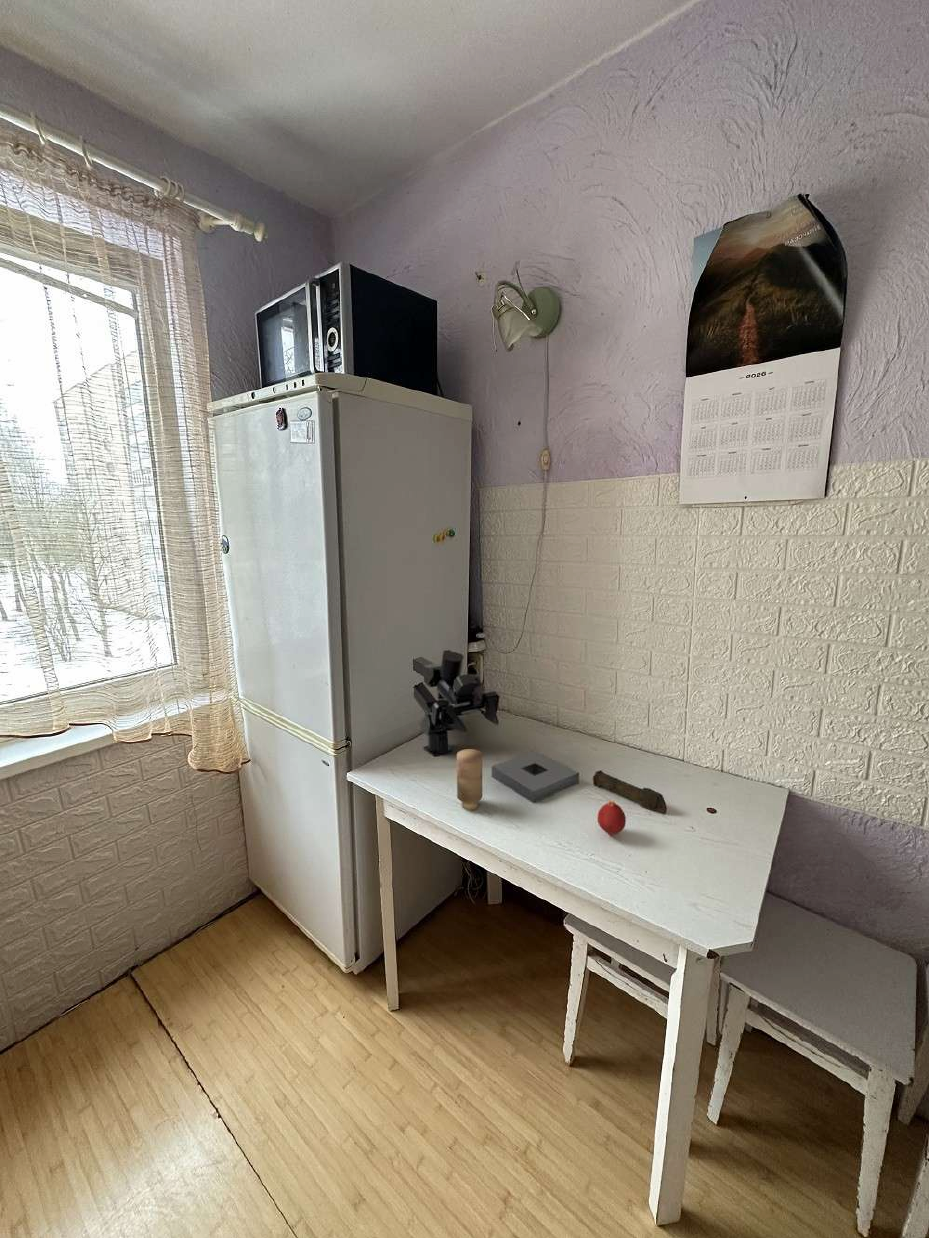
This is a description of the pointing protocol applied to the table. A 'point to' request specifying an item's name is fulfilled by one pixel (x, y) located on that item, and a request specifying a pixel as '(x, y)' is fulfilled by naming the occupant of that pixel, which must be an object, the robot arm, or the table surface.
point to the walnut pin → (469, 778)
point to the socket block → (543, 784)
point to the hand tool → (631, 792)
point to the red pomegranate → (611, 818)
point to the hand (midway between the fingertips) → (482, 726)
